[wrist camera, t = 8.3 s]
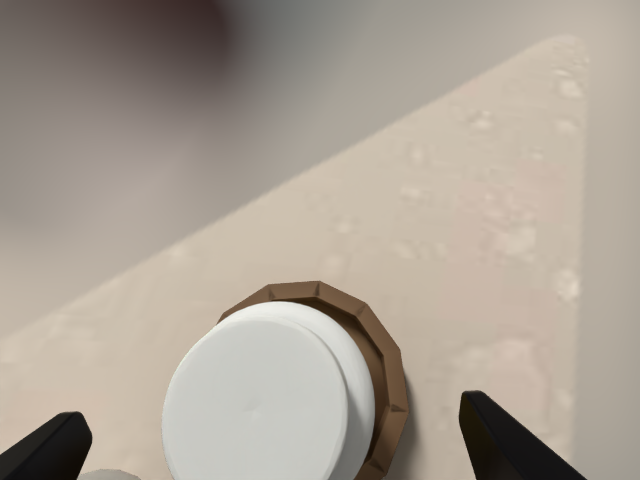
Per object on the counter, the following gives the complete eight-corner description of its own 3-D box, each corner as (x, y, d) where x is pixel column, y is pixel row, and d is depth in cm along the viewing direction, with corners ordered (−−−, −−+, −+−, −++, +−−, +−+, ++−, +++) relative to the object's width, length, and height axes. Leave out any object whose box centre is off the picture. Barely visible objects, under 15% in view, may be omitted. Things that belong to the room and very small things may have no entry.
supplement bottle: (368, 448, 15) (418, 568, 6) (247, 464, 15) (102, 610, 6) (349, 324, 17) (364, 264, 8) (243, 338, 17) (130, 295, 8)
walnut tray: (416, 499, 15) (426, 514, 13) (195, 512, 15) (179, 530, 14) (386, 282, 19) (391, 273, 17) (209, 295, 19) (197, 287, 17)
